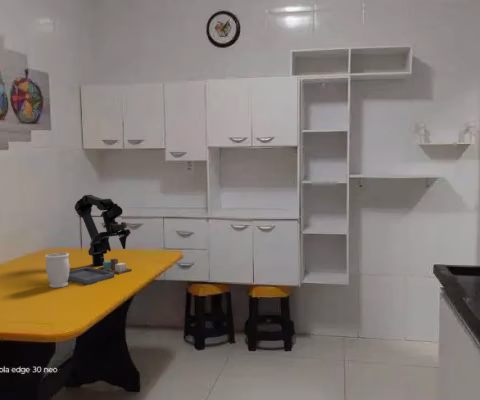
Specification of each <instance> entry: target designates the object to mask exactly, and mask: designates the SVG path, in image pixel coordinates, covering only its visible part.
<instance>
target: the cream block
mask: <svg viewBox="0 0 480 400" xmlns="http://www.w3.org/2000/svg"><path fill="white" fill-rule="evenodd" d="M126 268H127V263H125V262H118V264H115V271H118V272H121V271H125V270H126Z"/></svg>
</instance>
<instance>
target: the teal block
mask: <svg viewBox="0 0 480 400" xmlns="http://www.w3.org/2000/svg"><path fill="white" fill-rule="evenodd" d="M102 267H103V269H108V270H111V261H110V260H104V262H103V266H102Z"/></svg>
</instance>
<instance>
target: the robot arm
mask: <svg viewBox="0 0 480 400" xmlns="http://www.w3.org/2000/svg"><path fill="white" fill-rule="evenodd" d="M93 206H96V209H97V210H100V211H101V214H100V217H102V220H103V223H104V225H103V228H105V231H101V232H99V231H98V229H97V225H96V223H95V221H94V218H93V216H92V212H93V211H92V210H93V209H92V208H93ZM74 210H75V211H76V213H77V215H78V216H79V217H80V218H82V220H83V223H84V225H85V227H86V230H87V232H88V235H89V238H90V242H89V243H90V244H89V246H90V247H89V249H88V251H87V253H88V255H89V256H91V258H92V259H91V261H92V263H91V264H90V267H91V266H92V267H95V268H96V267H97V268H99V267H103V262H105V254H108V252H111V251H112V250H111V249H112V248H111V246H110V241H109V239H110V237H117V236H118V237H119V238H118V240H119V242H120V244H121V247H122V250H126V245H127V244H126V243H127V238H128V237H129V236H130V235H131V230H130V229H129V228H128V225H127V222H125V221H122V222H121V223H120V224H119V223H118V221H116V219H117V218H119V217H121V216H122V214H123V208H122V207H121V206H119V205H118V203H115V202H114V201H113V200H112V199H111V198H100V197H98V196H95V195H93V194H85V195H83V196H82V198H80V199H79V200H77V201H76V203H75V205H74Z"/></svg>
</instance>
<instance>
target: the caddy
mask: <svg viewBox="0 0 480 400" xmlns="http://www.w3.org/2000/svg"><path fill="white" fill-rule="evenodd" d="M109 261H111V270H108V269H103V266H98V267H97V269H98V270H103V271H108V272H112V273H114V274H116V275H123V274H126V273H130V272H132V271H133V269H132V268H127V267H126V270H125V271H121V272H118V271H115V264H118V263H119V260H118V258H110V260H109Z"/></svg>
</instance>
